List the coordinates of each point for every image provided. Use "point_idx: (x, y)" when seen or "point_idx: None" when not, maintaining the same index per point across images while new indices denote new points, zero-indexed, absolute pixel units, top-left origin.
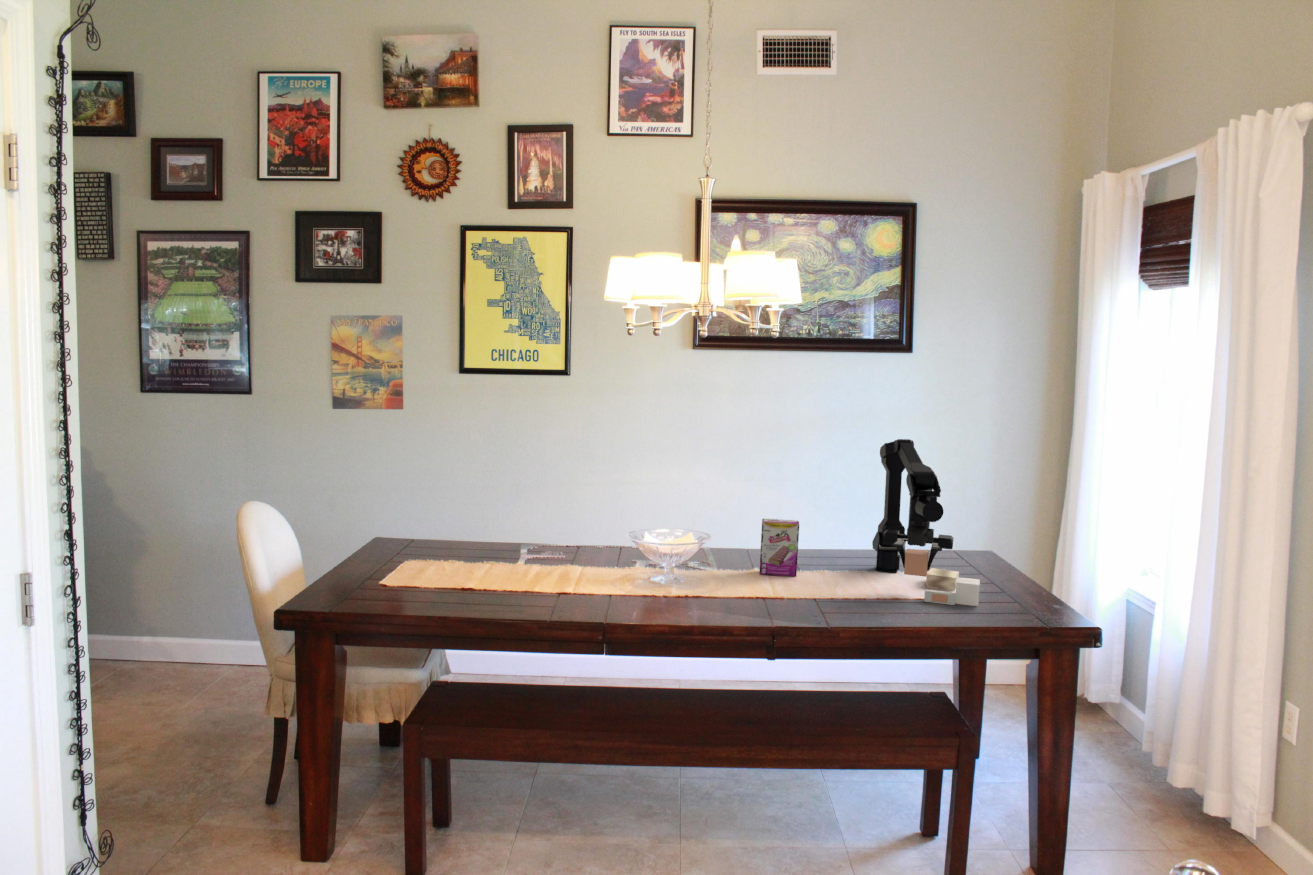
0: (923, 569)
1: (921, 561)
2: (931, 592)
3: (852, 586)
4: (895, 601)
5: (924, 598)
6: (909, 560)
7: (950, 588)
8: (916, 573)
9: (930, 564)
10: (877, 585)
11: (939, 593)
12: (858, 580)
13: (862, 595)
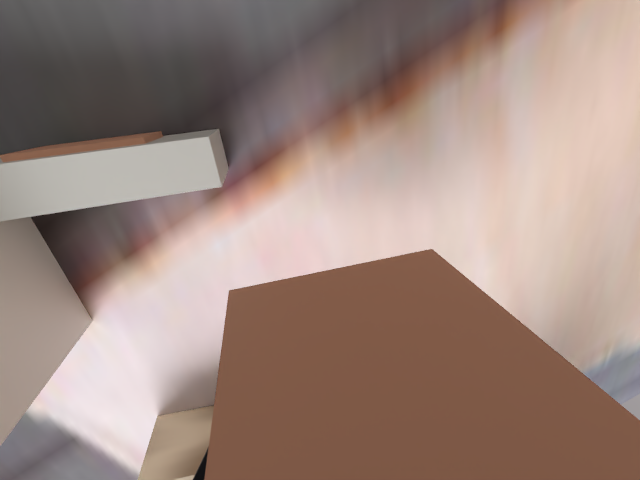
0: (264, 331)
1: (312, 422)
2: (150, 143)
3: (594, 202)
4: (391, 9)
5: (215, 130)
6: (494, 368)
7: (177, 418)
8: (329, 282)
9: (204, 463)
10: (484, 284)
11: (77, 152)
12: (551, 303)
13: (578, 48)
